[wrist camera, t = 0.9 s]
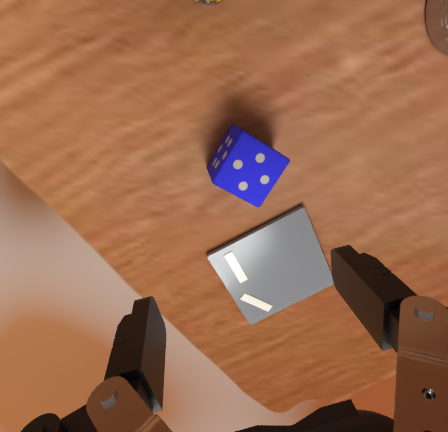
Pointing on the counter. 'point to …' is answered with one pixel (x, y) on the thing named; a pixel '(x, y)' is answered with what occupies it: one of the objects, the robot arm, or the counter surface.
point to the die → (246, 166)
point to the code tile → (273, 265)
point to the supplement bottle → (207, 2)
